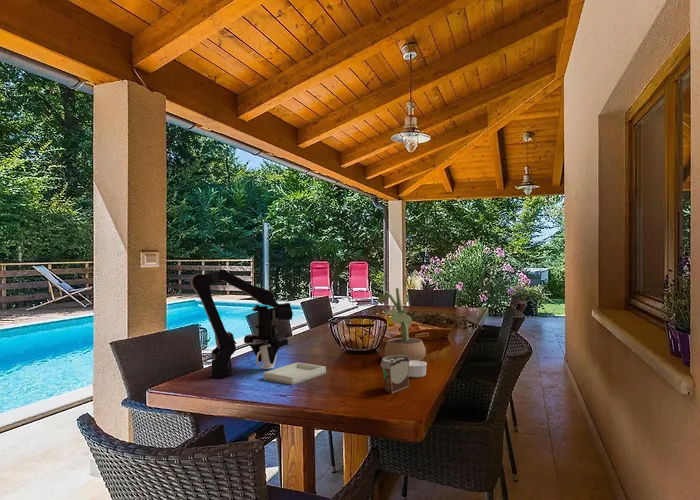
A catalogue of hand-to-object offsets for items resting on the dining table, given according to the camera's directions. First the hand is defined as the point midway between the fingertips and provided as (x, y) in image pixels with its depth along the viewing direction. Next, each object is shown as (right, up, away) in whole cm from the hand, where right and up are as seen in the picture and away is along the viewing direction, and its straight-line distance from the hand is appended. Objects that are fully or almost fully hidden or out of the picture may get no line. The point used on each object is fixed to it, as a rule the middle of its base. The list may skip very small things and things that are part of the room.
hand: (266, 362), depth 183 cm
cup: (0, -2, 0) cm, 2 cm away
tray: (+12, -3, -10) cm, 16 cm away
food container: (+46, -2, -28) cm, 54 cm away
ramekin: (+56, -2, -12) cm, 57 cm away
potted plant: (+53, -2, +11) cm, 55 cm away
